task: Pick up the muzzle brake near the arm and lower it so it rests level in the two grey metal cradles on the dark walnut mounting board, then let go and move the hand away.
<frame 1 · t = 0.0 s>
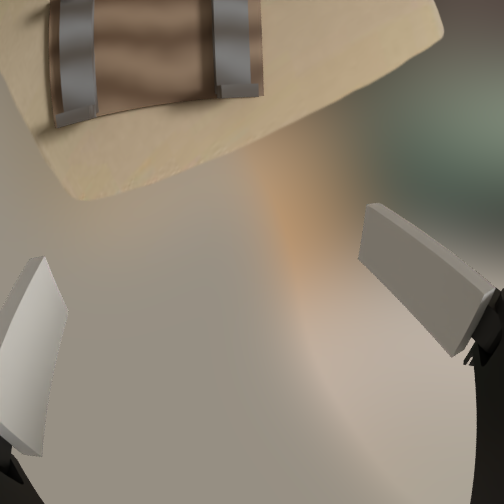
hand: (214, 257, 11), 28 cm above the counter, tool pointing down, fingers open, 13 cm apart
mounting board: (152, 36, 27), on the counter
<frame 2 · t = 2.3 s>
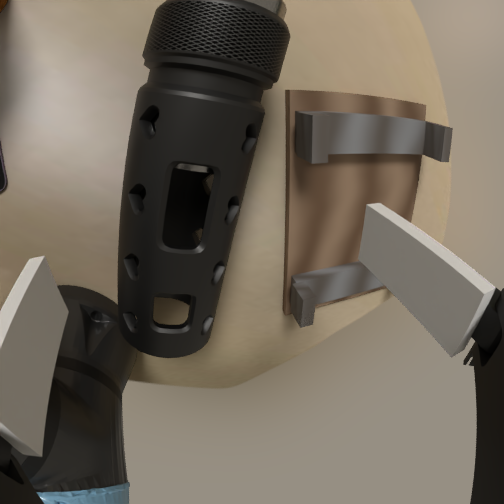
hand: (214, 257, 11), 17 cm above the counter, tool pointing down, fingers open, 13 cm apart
muzzle brake: (180, 160, 26), on the counter
mounting board: (356, 206, 33), on the counter
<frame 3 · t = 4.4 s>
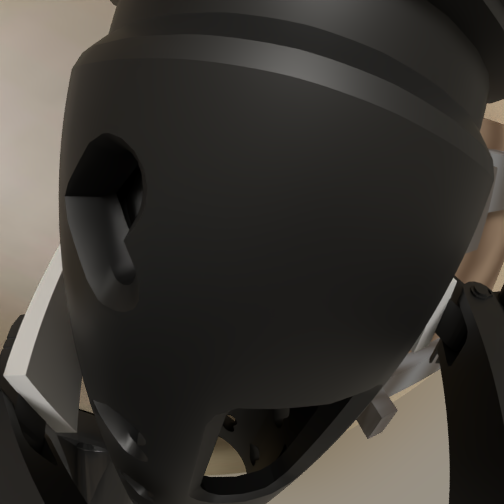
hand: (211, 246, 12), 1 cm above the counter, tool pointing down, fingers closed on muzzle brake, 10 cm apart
muzzle brake: (204, 229, 13), on the counter, touching gripper
mounting board: (450, 275, 21), on the counter
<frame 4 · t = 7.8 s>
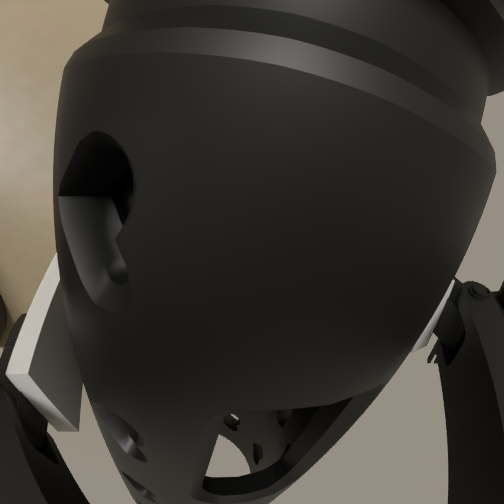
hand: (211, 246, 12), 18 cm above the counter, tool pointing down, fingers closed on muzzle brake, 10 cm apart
muzzle brake: (204, 227, 13), point 17 cm above the counter, touching gripper
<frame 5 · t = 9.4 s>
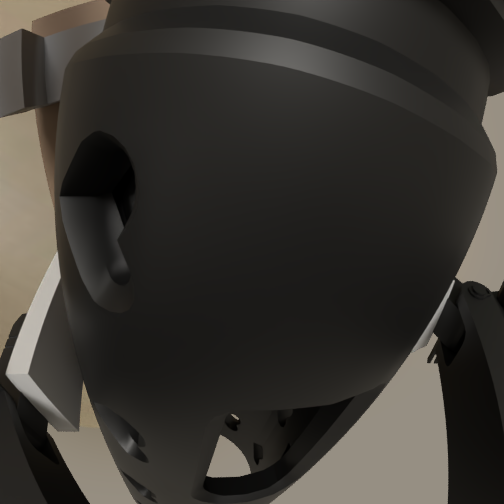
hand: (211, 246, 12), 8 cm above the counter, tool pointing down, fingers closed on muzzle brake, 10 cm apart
muzzle brake: (205, 227, 13), point 6 cm above the counter, touching gripper
mounting board: (190, 186, 19), on the counter
when the fingers open (5 cm above the counter, at t = 11.0 s): muzzle brake stays where it is, resting on mounting board.
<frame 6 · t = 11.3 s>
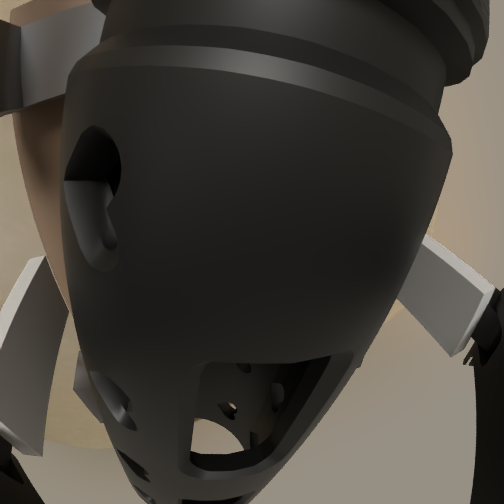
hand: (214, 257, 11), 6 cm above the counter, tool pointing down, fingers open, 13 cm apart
muzzle brake: (201, 219, 14), point 2 cm above the counter, touching mounting board
mounting board: (197, 204, 16), on the counter
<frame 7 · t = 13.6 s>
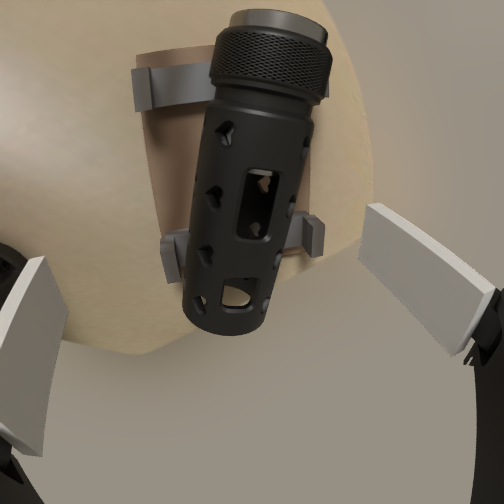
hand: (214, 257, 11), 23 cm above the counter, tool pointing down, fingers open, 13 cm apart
muzzle brake: (234, 163, 30), point 2 cm above the counter, touching mounting board
mounting board: (231, 159, 32), on the counter
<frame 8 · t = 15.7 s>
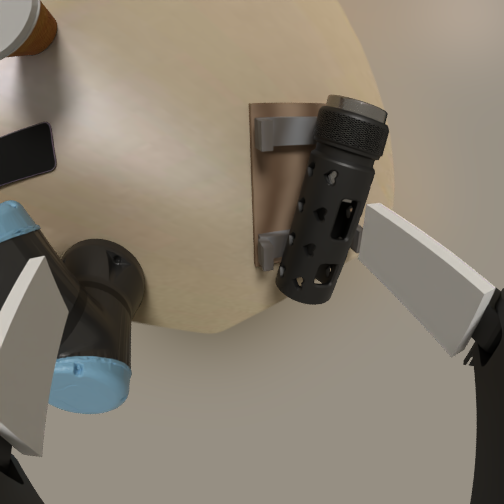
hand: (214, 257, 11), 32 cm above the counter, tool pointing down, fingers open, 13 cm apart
smartphone: (14, 156, 31), on the counter
disposable coffee cup: (38, 34, 23), on the counter
muzzle brake: (312, 188, 44), point 2 cm above the counter, touching mounting board
mounting board: (306, 184, 46), on the counter
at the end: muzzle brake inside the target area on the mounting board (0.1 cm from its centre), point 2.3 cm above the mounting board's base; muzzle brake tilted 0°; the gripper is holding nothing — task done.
